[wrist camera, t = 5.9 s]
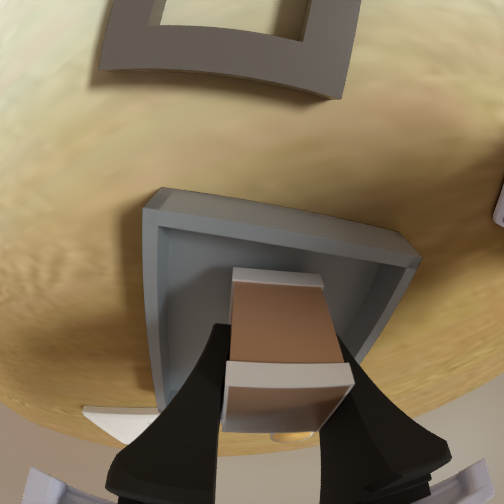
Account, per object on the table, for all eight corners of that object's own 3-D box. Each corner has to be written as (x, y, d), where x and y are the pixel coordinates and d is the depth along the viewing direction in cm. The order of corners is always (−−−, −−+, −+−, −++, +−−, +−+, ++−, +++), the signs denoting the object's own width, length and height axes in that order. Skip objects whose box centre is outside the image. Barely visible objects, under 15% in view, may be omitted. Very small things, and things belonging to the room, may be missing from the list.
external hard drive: (85, 401, 23) (178, 401, 21) (128, 434, 27) (217, 435, 25) (80, 413, 21) (175, 417, 19) (126, 445, 25) (216, 448, 23)
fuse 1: (320, 274, 12) (354, 383, 7) (301, 332, 14) (318, 431, 9) (233, 266, 11) (225, 383, 7) (228, 328, 13) (221, 431, 9)
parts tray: (399, 232, 12) (422, 257, 10) (306, 401, 20) (309, 426, 18) (161, 187, 11) (142, 207, 9) (164, 386, 19) (158, 412, 17)
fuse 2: (310, 376, 17) (319, 427, 14) (298, 395, 18) (304, 442, 15) (272, 374, 17) (276, 428, 13) (264, 393, 18) (266, 442, 15)
